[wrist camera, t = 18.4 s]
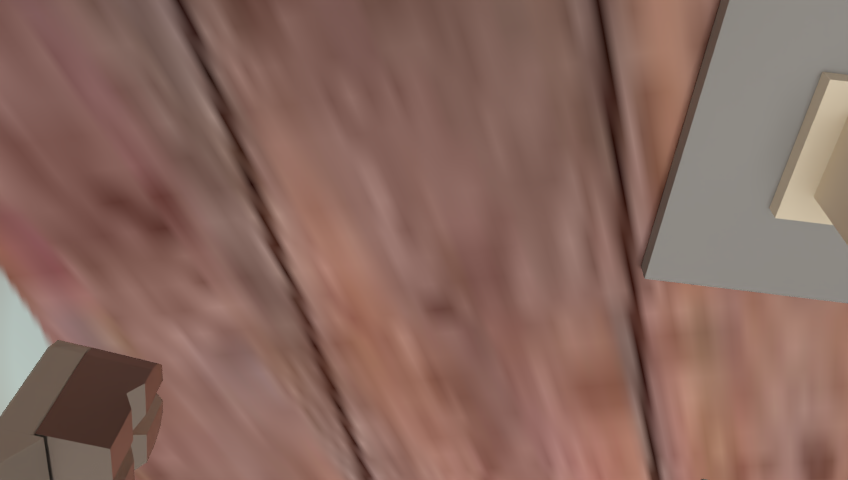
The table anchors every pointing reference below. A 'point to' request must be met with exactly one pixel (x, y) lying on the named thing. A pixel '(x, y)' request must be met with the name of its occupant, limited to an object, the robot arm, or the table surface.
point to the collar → (819, 161)
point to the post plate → (751, 156)
